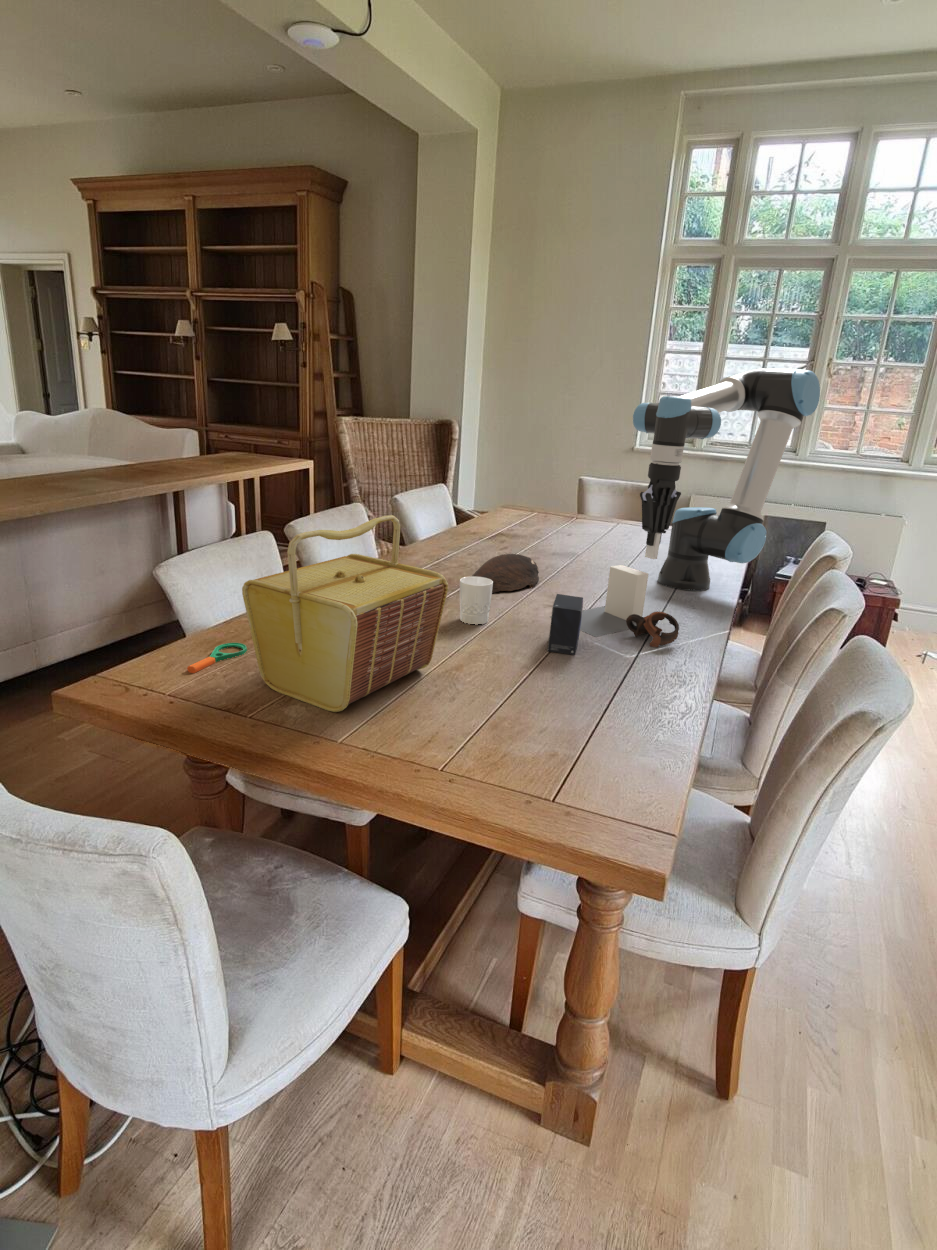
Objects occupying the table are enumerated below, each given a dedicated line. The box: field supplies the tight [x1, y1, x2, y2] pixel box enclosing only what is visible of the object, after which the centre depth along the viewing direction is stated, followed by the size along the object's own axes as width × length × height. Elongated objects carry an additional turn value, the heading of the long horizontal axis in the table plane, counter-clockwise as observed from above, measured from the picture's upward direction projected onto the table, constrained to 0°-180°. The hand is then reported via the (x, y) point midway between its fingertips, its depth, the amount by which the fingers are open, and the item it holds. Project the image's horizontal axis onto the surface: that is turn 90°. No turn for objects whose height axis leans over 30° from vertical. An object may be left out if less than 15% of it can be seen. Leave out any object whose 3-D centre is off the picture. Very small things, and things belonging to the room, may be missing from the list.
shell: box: [471, 553, 540, 594], centre depth 208 cm, size 34×20×8 cm, turn 162°
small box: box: [546, 593, 584, 656], centre depth 157 cm, size 11×6×10 cm, turn 168°
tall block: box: [604, 564, 649, 620], centre depth 178 cm, size 4×9×12 cm, turn 36°
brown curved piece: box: [626, 611, 680, 648], centre depth 163 cm, size 12×10×8 cm
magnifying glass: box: [186, 642, 248, 674], centre depth 140 cm, size 15×6×2 cm, turn 161°
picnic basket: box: [241, 514, 449, 713], centre depth 130 cm, size 29×26×30 cm
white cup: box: [459, 575, 493, 626], centre depth 170 cm, size 8×8×10 cm
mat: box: [549, 605, 637, 638], centre depth 176 cm, size 22×16×1 cm
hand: (650, 557), depth 180 cm, fingers closed
